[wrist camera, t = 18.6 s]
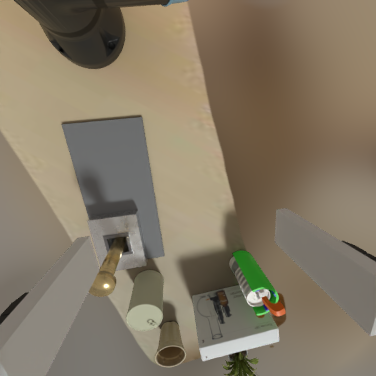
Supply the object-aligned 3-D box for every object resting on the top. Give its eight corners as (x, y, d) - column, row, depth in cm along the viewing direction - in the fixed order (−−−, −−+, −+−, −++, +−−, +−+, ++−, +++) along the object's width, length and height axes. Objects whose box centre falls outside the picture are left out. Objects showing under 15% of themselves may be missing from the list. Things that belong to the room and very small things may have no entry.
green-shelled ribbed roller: (224, 257, 56) (249, 311, 38) (246, 245, 55) (282, 294, 38) (235, 276, 58) (264, 335, 41) (256, 265, 58) (294, 319, 41)
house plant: (243, 313, 63) (268, 370, 48) (257, 334, 68) (284, 394, 52) (209, 331, 64) (222, 393, 49) (225, 351, 68) (242, 415, 53)
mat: (62, 124, 40) (61, 124, 40) (142, 117, 41) (141, 117, 41) (103, 264, 51) (102, 265, 51) (164, 255, 53) (164, 256, 52)
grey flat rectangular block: (92, 215, 46) (86, 221, 43) (137, 209, 47) (135, 214, 44) (106, 265, 51) (102, 273, 48) (147, 258, 52) (146, 266, 49)
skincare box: (251, 279, 60) (279, 328, 44) (252, 291, 61) (280, 343, 46) (190, 294, 58) (199, 349, 43) (193, 306, 60) (202, 363, 45)
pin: (109, 231, 48) (82, 278, 33) (129, 228, 48) (110, 273, 33) (114, 247, 50) (90, 298, 34) (132, 244, 50) (117, 294, 35)
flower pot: (187, 320, 61) (191, 348, 53) (177, 339, 63) (178, 369, 55) (163, 314, 59) (162, 343, 51) (152, 334, 61) (150, 364, 53)
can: (149, 298, 57) (144, 338, 45) (127, 282, 54) (117, 321, 43) (170, 280, 56) (170, 318, 44) (149, 264, 53) (144, 299, 42)
